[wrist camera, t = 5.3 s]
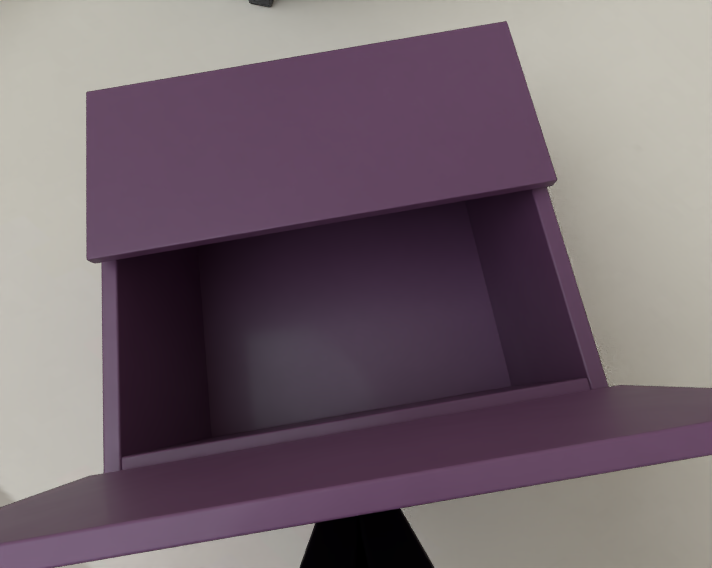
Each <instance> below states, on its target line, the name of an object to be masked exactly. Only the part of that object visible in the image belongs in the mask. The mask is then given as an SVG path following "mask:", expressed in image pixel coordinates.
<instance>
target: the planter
mask: <svg viewBox="0 0 712 568" xmlns="http://www.w3.org/2000/svg"><path fill="white" fill-rule="evenodd" d="M249 2H250V3H252V4H257V5H263V6H268V7H271V4H272V2H273V0H249Z"/></svg>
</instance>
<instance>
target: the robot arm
mask: <svg viewBox="0 0 712 568" xmlns="http://www.w3.org/2000/svg"><path fill="white" fill-rule="evenodd" d="M300 568H434V566H433V564H432V562H431V561H430V559H429V557H428V555H427V554H426V552H425V550H424V549H423V547H422V545H421V543H420V542H419V540H418V538H417V536H416V535H415V533H414V531H413V529H412V528H411V526H410V524H409V523H408V521H407V519H406V517H405V516H404V514H403V512H402V510H401V509H400V508H399V509H393V510H387V511H382V512H376V513H370V514H364V515H358V516H352V517H347V518H341V519H335V520H329V521H323V522H317V523H315V526H314V528H313V531H312V534H311V537H310V540H309V542H308V545H307V548H306V551H305V554H304V557H303V559H302V562H301V565H300Z"/></svg>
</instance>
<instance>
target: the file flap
mask: <svg viewBox="0 0 712 568" xmlns="http://www.w3.org/2000/svg"><path fill="white" fill-rule="evenodd" d="M708 455H712V388H693V387H664V386H634V385H617V386H612V387H606V388H600V389H594V390H588V391H582V392H577V393H571V394H565V395H559V396H553V397H547V398H542V399H536V400H530V401H524V402H518V403H512V404H506V405H501V406H495V407H489V408H483V409H477V410H471V411H466V412H460V413H454V414H448V415H442V416H436V417H430V418H425V419H419V420H413V421H407V422H401V423H395V424H390V425H384V426H378V427H372V428H366V429H360V430H354V431H349V432H343V433H337V434H331V435H325V436H319V437H314V438H308V439H302V440H296V441H290V442H284V443H279V444H273V445H267V446H261V447H255V448H249V449H243V450H238V451H232V452H226V453H220V454H214V455H208V456H203V457H197V458H191V459H185V460H179V461H173V462H167V463H162V464H156V465H150V466H144V467H138V468H132V469H127V470H121V471H115V472H109V473H103V474H97V475H92V476H88V477H85V478H82V479H79V480H76V481H73V482H71V483H68V484H65V485H62V486H59V487H56V488H54V489H51V490H48V491H45V492H42V493H39V494H37V495H34V496H31V497H28V498H25V499H22V500H20V501H17V502H14V503H11V504H8V505H5V506H3V507H0V568H55V567H61V566H67V565H73V564H79V563H84V562H90V561H96V560H102V559H108V558H114V557H119V556H125V555H131V554H137V553H143V552H149V551H154V550H160V549H166V548H172V547H178V546H184V545H189V544H195V543H201V542H207V541H213V540H218V539H224V538H230V537H236V536H242V535H248V534H253V533H259V532H265V531H271V530H277V529H283V528H288V527H294V526H300V525H306V524H312V523H317V522H323V521H329V520H335V519H341V518H347V517H352V516H358V515H364V514H370V513H376V512H382V511H387V510H393V509H399V508H405V507H411V506H417V505H422V504H428V503H434V502H440V501H446V500H451V499H457V498H463V497H469V496H475V495H481V494H486V493H492V492H498V491H504V490H510V489H516V488H521V487H527V486H533V485H539V484H545V483H550V482H556V481H562V480H568V479H574V478H580V477H585V476H591V475H597V474H603V473H609V472H615V471H620V470H626V469H632V468H638V467H644V466H650V465H655V464H661V463H667V462H673V461H679V460H684V459H690V458H696V457H702V456H708Z"/></svg>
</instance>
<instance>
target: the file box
mask: <svg viewBox="0 0 712 568" xmlns="http://www.w3.org/2000/svg"><path fill="white" fill-rule="evenodd" d="M556 181H557V177H556V174H555V171H554V168H553V165H552V162H551V159H550V156H549V152H548V149H547V146H546V143H545V140H544V137H543V134H542V130H541V127H540V124H539V121H538V118H537V115H536V112H535V108H534V105H533V102H532V99H531V96H530V93H529V90H528V87H527V83H526V80H525V77H524V74H523V71H522V68H521V65H520V61H519V58H518V55H517V52H516V49H515V46H514V43H513V39H512V36H511V33H510V30H509V27H508V24H507V22H506V21H504V22H498V23H493V24H487V25H481V26H475V27H469V28H463V29H457V30H451V31H445V32H439V33H433V34H427V35H421V36H415V37H409V38H404V39H398V40H392V41H386V42H380V43H374V44H368V45H362V46H356V47H350V48H344V49H338V50H332V51H326V52H321V53H315V54H309V55H303V56H297V57H291V58H285V59H279V60H273V61H267V62H261V63H255V64H249V65H243V66H238V67H232V68H226V69H220V70H214V71H208V72H202V73H196V74H190V75H184V76H178V77H172V78H166V79H160V80H154V81H149V82H143V83H137V84H131V85H125V86H119V87H113V88H107V89H101V90H95V91H89V92H87V93H86V224H87V260H88V261H90V262H92V263H101V262H102V352H103V447H104V473H109V472H115V471H121V470H127V469H132V468H138V467H144V466H150V465H156V464H162V463H167V462H173V461H179V460H185V459H191V458H197V457H203V456H208V455H214V454H220V453H226V452H232V451H238V450H243V449H249V448H255V447H261V446H267V445H273V444H279V443H284V442H290V441H296V440H302V439H308V438H314V437H319V436H325V435H331V434H337V433H343V432H349V431H354V430H360V429H366V428H372V427H378V426H384V425H390V424H395V423H401V422H407V421H413V420H419V419H425V418H430V417H436V416H442V415H448V414H454V413H460V412H466V411H471V410H477V409H483V408H489V407H495V406H501V405H506V404H512V403H518V402H524V401H530V400H536V399H542V398H547V397H553V396H559V395H565V394H571V393H577V392H582V391H588V390H594V389H600V388H606V387H609V386H608V383H607V380H606V377H605V374H604V370H603V367H602V364H601V361H600V357H599V354H598V351H597V348H596V345H595V341H594V338H593V335H592V332H591V328H590V325H589V322H588V319H587V316H586V312H585V309H584V306H583V303H582V299H581V296H580V293H579V290H578V287H577V283H576V280H575V277H574V274H573V270H572V267H571V264H570V261H569V257H568V254H567V251H566V248H565V245H564V241H563V238H562V235H561V232H560V228H559V225H558V222H557V219H556V216H555V212H554V209H553V206H552V203H551V199H550V196H549V193H548V190H547V187H548V186H552V185H553V184H554V183H555V182H556Z"/></svg>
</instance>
